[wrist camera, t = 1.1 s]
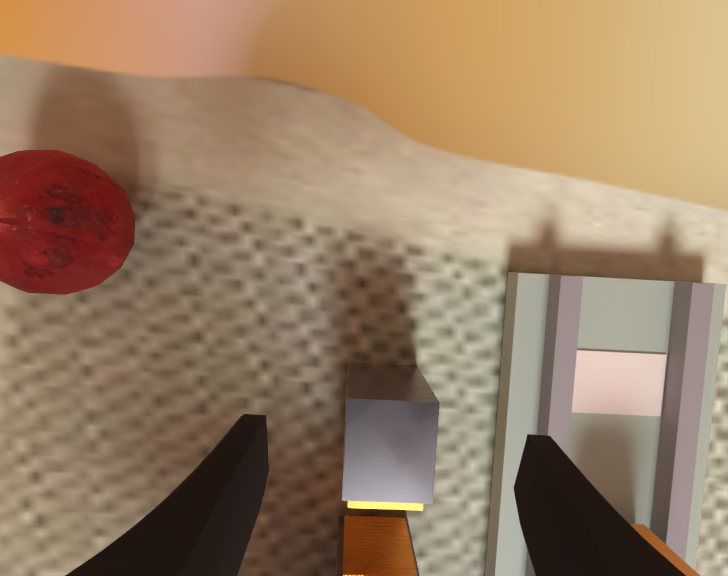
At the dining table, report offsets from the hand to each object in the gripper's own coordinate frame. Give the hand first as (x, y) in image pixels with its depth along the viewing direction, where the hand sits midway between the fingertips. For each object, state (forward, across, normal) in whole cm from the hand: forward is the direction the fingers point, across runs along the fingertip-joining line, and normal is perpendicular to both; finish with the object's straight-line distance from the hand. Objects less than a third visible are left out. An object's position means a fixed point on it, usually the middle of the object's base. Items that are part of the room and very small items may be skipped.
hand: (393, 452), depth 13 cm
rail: (+9, -11, +8) cm, 16 cm away
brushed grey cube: (+9, 0, +6) cm, 11 cm away
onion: (+12, +14, -2) cm, 18 cm away
